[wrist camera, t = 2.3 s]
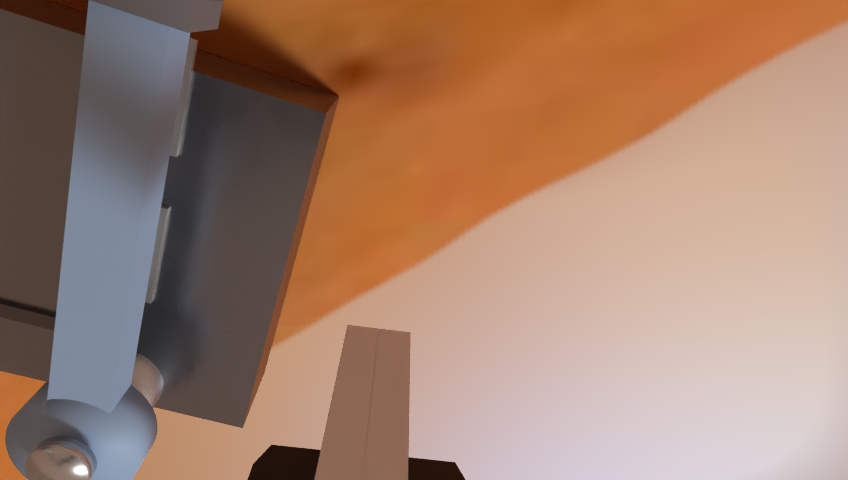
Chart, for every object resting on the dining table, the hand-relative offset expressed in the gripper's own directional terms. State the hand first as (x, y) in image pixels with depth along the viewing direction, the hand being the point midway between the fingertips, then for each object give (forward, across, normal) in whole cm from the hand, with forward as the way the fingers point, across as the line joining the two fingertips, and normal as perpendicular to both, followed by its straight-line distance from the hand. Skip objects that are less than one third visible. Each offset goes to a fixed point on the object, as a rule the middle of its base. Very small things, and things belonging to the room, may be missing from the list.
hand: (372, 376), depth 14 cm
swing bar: (+6, -9, -1) cm, 11 cm away
